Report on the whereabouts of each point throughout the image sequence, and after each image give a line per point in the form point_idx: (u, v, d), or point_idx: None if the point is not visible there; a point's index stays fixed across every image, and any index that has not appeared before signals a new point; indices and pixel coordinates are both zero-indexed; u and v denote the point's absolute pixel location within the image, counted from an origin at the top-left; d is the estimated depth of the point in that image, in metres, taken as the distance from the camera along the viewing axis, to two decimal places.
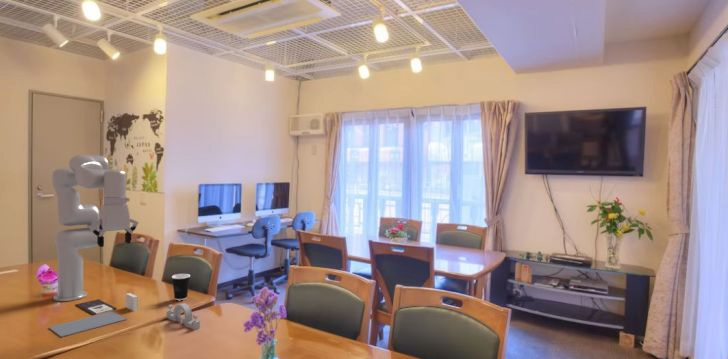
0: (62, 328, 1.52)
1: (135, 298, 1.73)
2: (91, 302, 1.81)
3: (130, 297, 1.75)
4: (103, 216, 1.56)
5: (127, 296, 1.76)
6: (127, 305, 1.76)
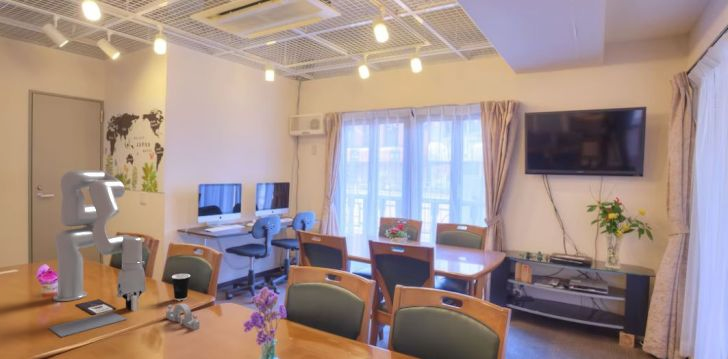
0: (62, 328, 1.52)
1: (135, 298, 1.73)
2: (91, 302, 1.81)
3: (130, 297, 1.74)
4: (122, 281, 1.71)
5: None
6: None
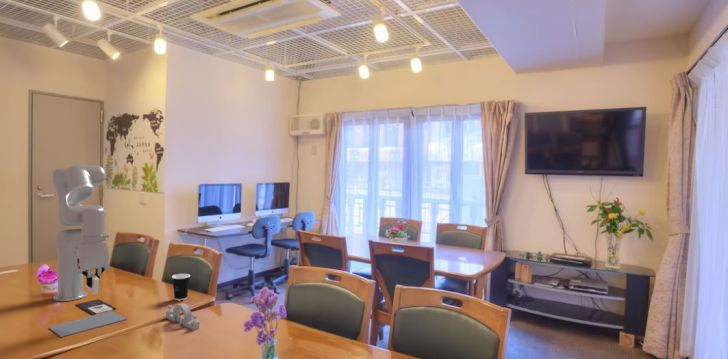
0: (62, 328, 1.52)
1: (96, 281, 1.55)
2: (91, 302, 1.81)
3: None
4: (81, 255, 1.53)
5: None
6: None
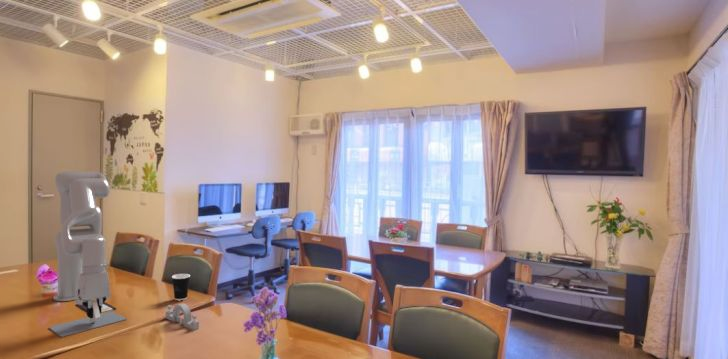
0: (62, 328, 1.52)
1: (97, 318, 1.55)
2: None
3: (93, 311, 1.56)
4: (81, 286, 1.53)
5: None
6: None
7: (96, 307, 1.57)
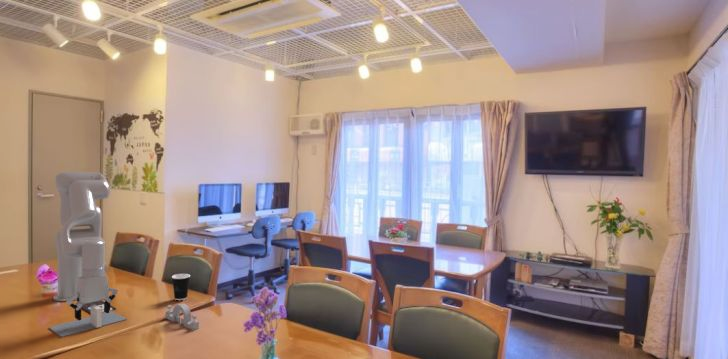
0: (62, 328, 1.52)
1: None
2: (91, 302, 1.81)
3: (96, 319, 1.54)
4: (80, 289, 1.53)
5: (95, 312, 1.54)
6: (91, 310, 1.57)
7: (100, 316, 1.55)
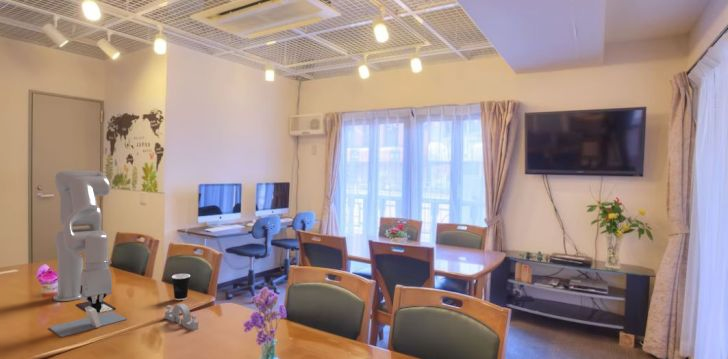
0: (62, 328, 1.52)
1: None
2: None
3: (93, 320, 1.54)
4: (84, 282, 1.54)
5: (91, 314, 1.53)
6: (87, 311, 1.55)
7: (96, 317, 1.54)
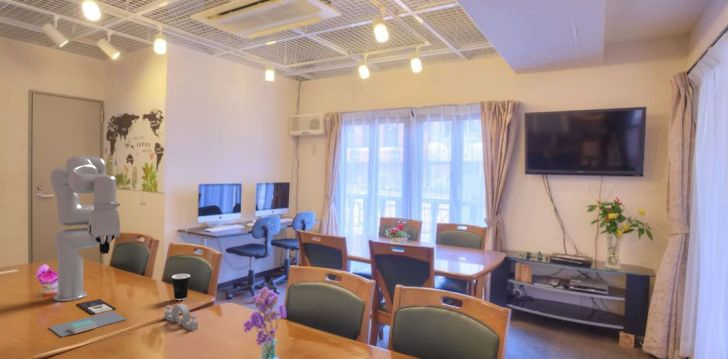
0: (62, 328, 1.52)
1: None
2: (92, 302, 1.81)
3: None
4: (93, 222, 1.56)
5: None
6: None
7: (84, 328, 1.51)
